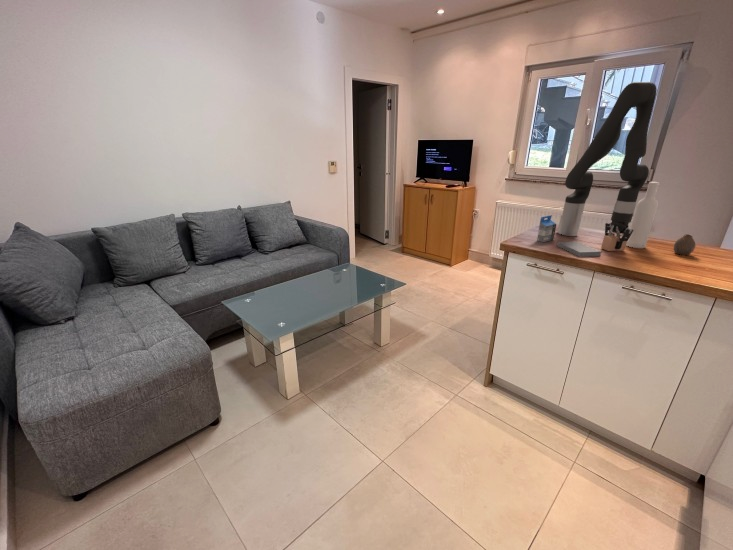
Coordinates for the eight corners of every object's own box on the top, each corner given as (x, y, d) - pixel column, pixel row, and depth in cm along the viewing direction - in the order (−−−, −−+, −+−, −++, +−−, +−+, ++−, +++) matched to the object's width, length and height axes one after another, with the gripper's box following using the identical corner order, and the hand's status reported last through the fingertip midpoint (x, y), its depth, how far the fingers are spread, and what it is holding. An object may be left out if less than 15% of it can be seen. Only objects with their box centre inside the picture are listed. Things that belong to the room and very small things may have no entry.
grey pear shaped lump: (675, 255, 148) (682, 236, 145) (668, 250, 154) (675, 232, 151) (695, 257, 146) (702, 237, 142) (687, 252, 152) (694, 233, 148)
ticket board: (556, 245, 162) (557, 241, 161) (576, 245, 163) (577, 241, 162) (578, 256, 147) (580, 252, 146) (600, 255, 148) (601, 251, 147)
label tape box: (543, 242, 168) (548, 218, 163) (536, 240, 171) (540, 216, 166) (553, 240, 172) (558, 216, 167) (546, 238, 175) (551, 215, 170)
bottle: (623, 243, 166) (641, 180, 155) (642, 244, 163) (662, 181, 152) (626, 247, 159) (646, 182, 148) (647, 249, 156) (668, 183, 145)
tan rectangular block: (601, 247, 158) (604, 235, 156) (616, 247, 159) (620, 235, 156) (608, 250, 154) (611, 238, 152) (624, 250, 154) (628, 237, 152)
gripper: (603, 208, 156) (594, 243, 162) (628, 214, 143) (617, 252, 149) (618, 207, 156) (609, 242, 163) (644, 214, 143) (633, 251, 150)
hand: (613, 247), depth 156 cm, fingers closed on tan rectangular block, 4 cm apart
